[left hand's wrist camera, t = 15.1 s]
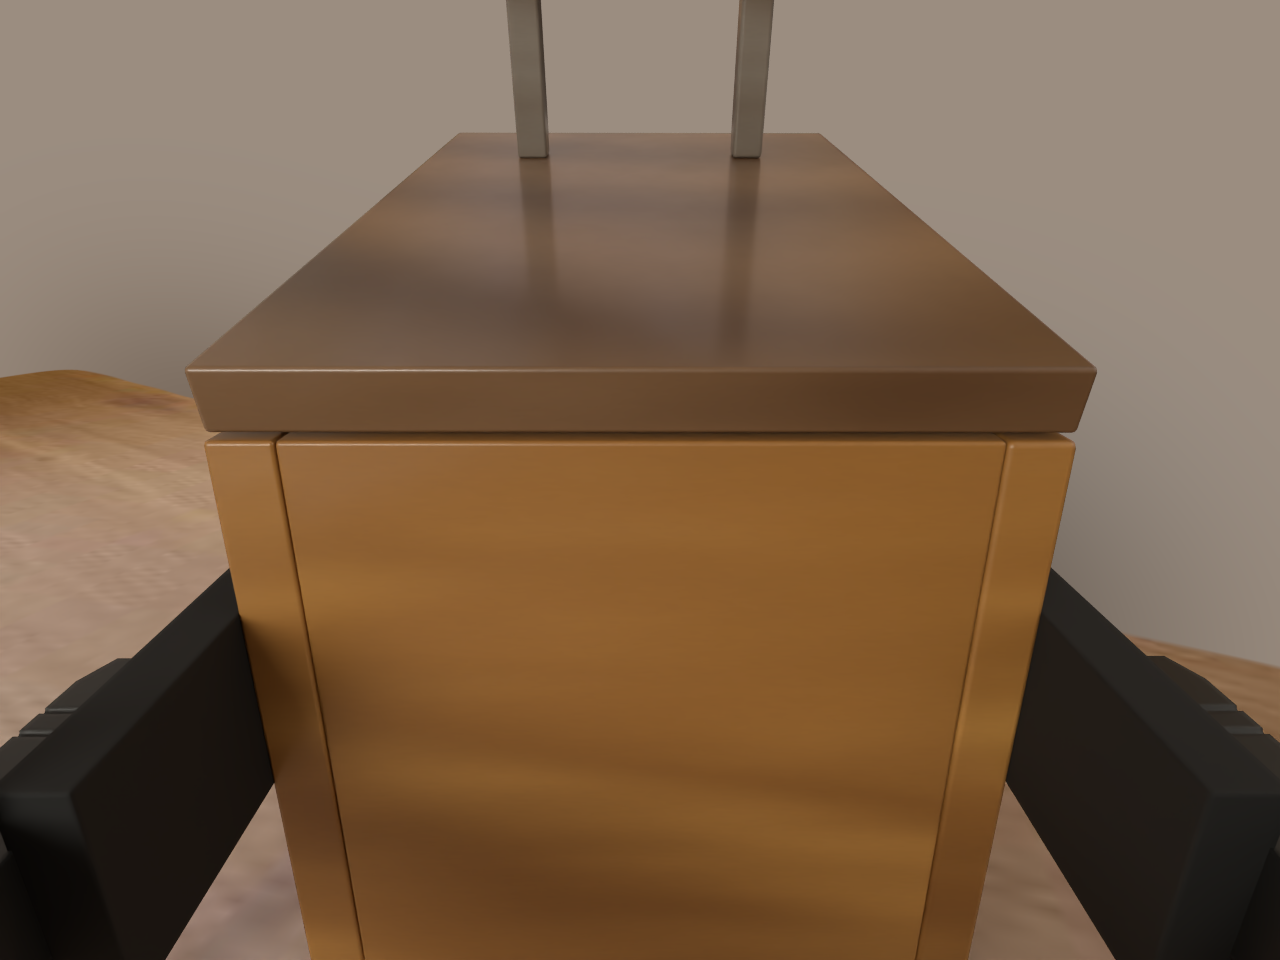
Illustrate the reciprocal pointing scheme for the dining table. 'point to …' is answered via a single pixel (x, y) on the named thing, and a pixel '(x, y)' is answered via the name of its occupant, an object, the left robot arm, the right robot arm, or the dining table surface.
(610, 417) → the lid
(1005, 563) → the chest
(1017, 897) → the dining table surface
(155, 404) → the dining table surface
